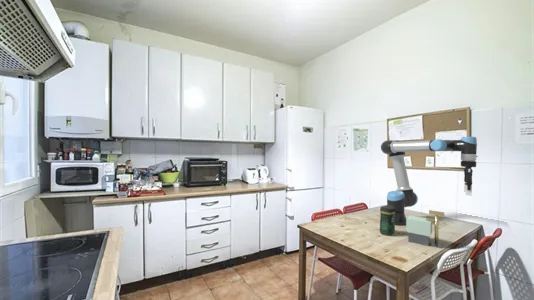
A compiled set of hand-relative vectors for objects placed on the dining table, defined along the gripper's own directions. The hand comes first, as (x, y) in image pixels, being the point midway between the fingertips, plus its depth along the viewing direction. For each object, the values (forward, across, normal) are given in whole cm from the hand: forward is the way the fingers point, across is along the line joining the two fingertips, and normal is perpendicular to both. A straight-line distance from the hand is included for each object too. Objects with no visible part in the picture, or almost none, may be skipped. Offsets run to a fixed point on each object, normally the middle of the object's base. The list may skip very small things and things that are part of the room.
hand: (467, 193), depth 147 cm
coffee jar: (+28, -26, +42) cm, 57 cm away
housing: (+28, -30, +21) cm, 46 cm away
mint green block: (+22, -30, +24) cm, 44 cm away
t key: (+27, -30, +16) cm, 43 cm away
